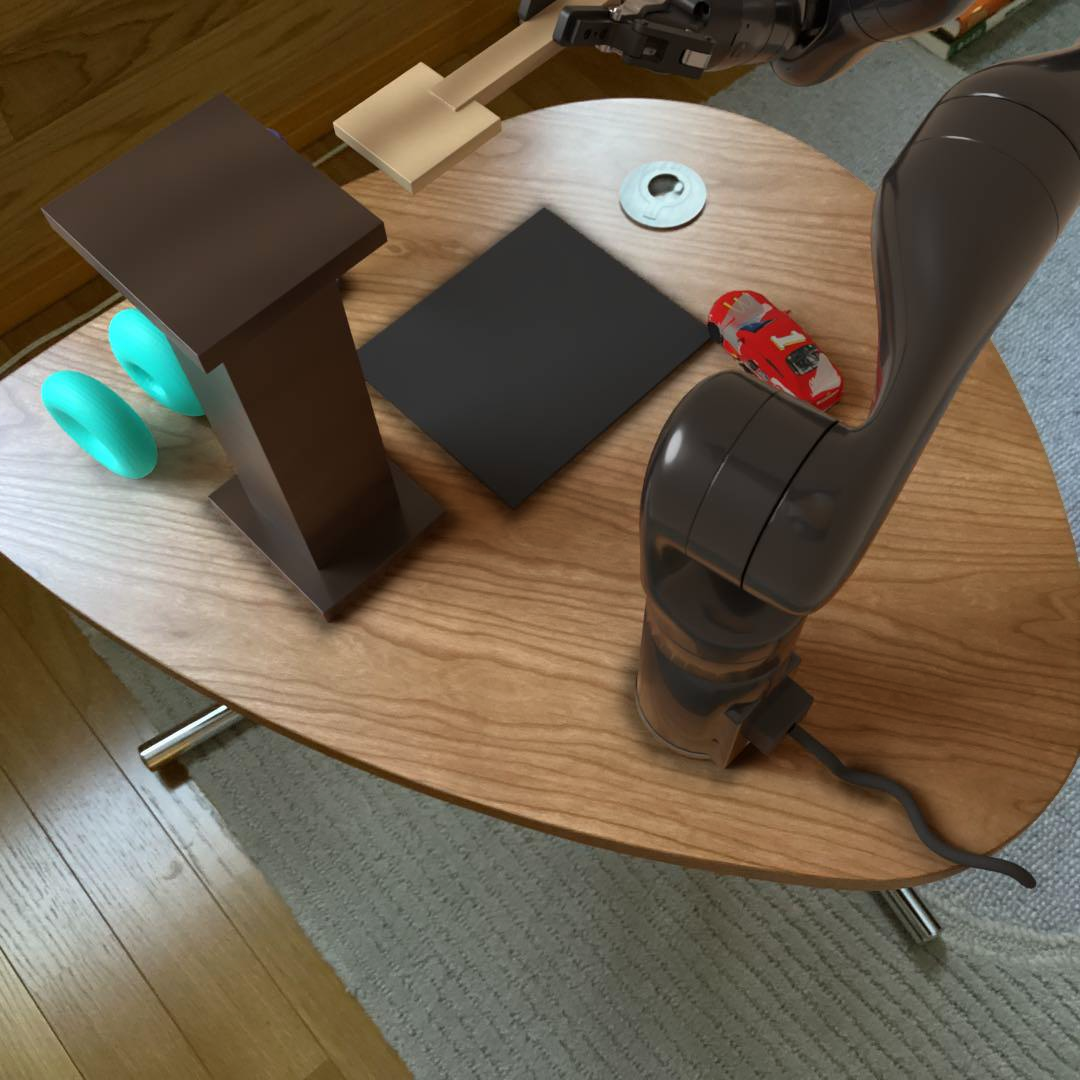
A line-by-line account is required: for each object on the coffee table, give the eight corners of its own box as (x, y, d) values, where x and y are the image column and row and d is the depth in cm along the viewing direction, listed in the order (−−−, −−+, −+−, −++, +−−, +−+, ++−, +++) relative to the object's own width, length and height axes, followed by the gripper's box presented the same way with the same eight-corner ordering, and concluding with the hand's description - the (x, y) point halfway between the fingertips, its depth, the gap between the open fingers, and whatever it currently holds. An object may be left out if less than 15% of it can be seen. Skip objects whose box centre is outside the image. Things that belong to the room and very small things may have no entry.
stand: (448, 520, 88) (383, 221, 60) (327, 623, 85) (197, 356, 56) (331, 413, 93) (220, 91, 65) (212, 506, 90) (39, 207, 61)
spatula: (647, 24, 72) (648, 7, 71) (413, 196, 66) (410, 180, 65) (568, -26, 75) (567, -43, 74) (335, 135, 69) (331, 119, 68)
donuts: (66, 443, 93) (11, 369, 84) (154, 359, 97) (110, 279, 88) (154, 505, 90) (107, 434, 81) (242, 416, 94) (206, 339, 85)
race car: (692, 322, 96) (699, 289, 92) (744, 294, 97) (753, 261, 94) (795, 434, 91) (806, 405, 87) (848, 403, 92) (861, 373, 89)
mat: (715, 336, 96) (715, 332, 95) (513, 511, 89) (513, 508, 88) (544, 210, 103) (544, 206, 102) (345, 363, 96) (344, 359, 95)
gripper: (646, -84, 82) (482, -100, 70) (800, 6, 77) (651, 5, 65) (608, 22, 87) (448, 23, 75) (751, 113, 82) (603, 130, 70)
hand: (544, 15), depth 70 cm, fingers closed on spatula, 2 cm apart
